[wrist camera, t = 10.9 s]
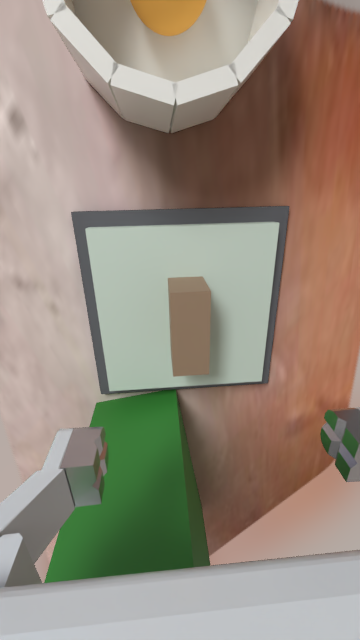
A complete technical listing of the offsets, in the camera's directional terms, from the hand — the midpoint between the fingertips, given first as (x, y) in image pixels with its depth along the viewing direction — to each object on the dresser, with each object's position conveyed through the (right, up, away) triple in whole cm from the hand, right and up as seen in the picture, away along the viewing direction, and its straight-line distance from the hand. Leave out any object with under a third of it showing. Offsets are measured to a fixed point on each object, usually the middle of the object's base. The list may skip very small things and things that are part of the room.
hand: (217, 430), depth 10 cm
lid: (-1, +5, +12) cm, 13 cm away
